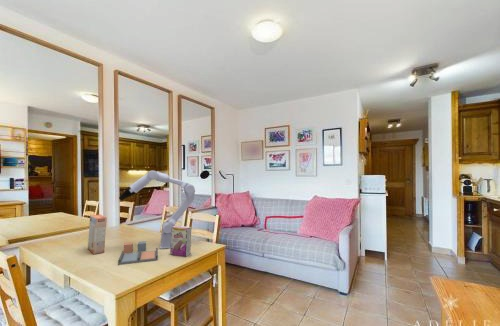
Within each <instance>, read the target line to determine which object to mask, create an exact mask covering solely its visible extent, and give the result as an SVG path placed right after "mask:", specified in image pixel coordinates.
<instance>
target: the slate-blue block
mask: <svg viewBox="0 0 500 326" xmlns="http://www.w3.org/2000/svg"><path fill="white" fill-rule="evenodd" d="M146 249H147V241H146V240H145V241H144V240H143V241H138V242H137V252H139V250H141V252H146Z"/></svg>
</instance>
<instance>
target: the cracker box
mask: <svg viewBox="0 0 500 326" xmlns="http://www.w3.org/2000/svg"><path fill="white" fill-rule="evenodd" d="M107 219H108V218H107V216H104V215H102V214H91V215H90V216H89V227H88V239H87V240H88V241H87V250H88V251H89V252H91V254H92V255H98V254H103V253H105V248H106V247H105V246H106V244H105V243H106V235H107V234H106V233H107V232H106V230H107Z"/></svg>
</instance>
